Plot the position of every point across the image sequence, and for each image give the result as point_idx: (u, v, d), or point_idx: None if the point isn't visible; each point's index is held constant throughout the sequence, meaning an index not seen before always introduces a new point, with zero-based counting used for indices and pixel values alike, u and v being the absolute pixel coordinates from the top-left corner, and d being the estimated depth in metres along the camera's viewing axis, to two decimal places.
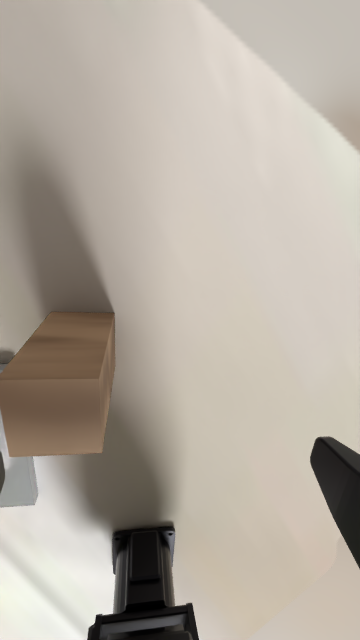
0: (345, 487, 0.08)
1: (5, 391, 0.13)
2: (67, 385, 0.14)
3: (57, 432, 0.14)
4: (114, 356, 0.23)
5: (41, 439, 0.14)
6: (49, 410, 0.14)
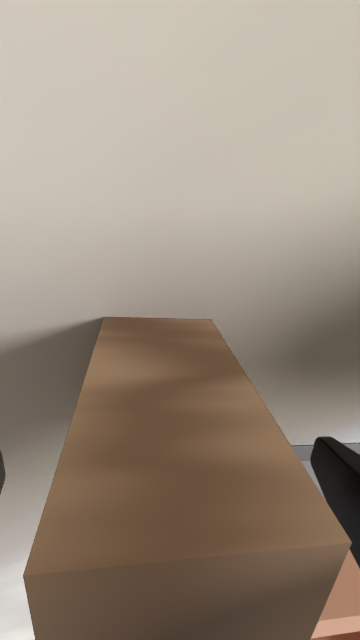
0: (345, 487, 0.08)
1: None
2: (58, 635, 0.04)
3: (236, 634, 0.05)
4: (187, 324, 0.12)
5: None
6: None
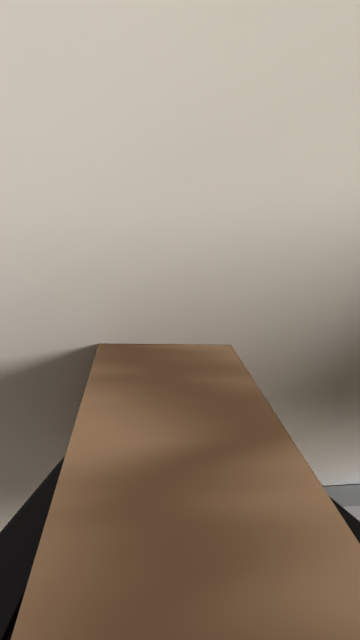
0: None
1: None
2: None
3: None
4: (202, 352, 0.10)
5: None
6: None
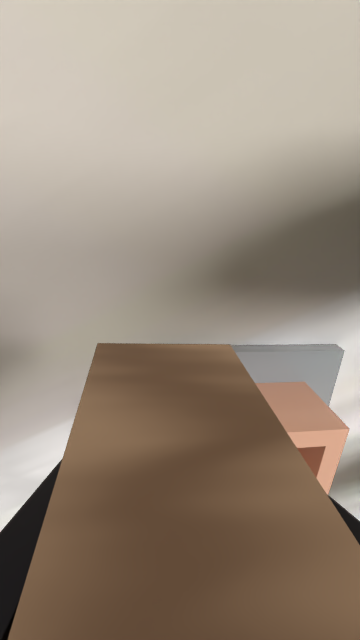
0: None
1: None
2: None
3: None
4: (201, 352, 0.10)
5: None
6: None
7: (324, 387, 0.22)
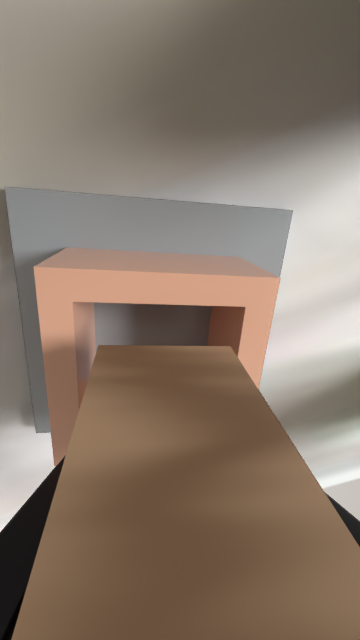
0: None
1: None
2: None
3: None
4: (202, 353, 0.10)
5: None
6: None
7: (267, 269, 0.16)
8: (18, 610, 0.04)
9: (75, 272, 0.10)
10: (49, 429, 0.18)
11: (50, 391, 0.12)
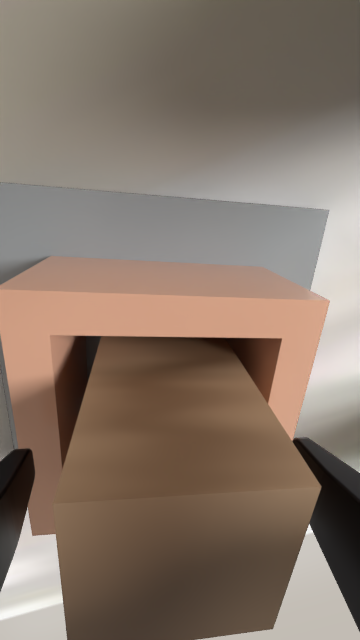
0: None
1: None
2: (79, 561, 0.05)
3: (226, 569, 0.06)
4: None
5: (239, 591, 0.06)
6: (157, 585, 0.06)
7: (296, 281, 0.13)
8: None
9: (52, 296, 0.07)
10: None
11: None
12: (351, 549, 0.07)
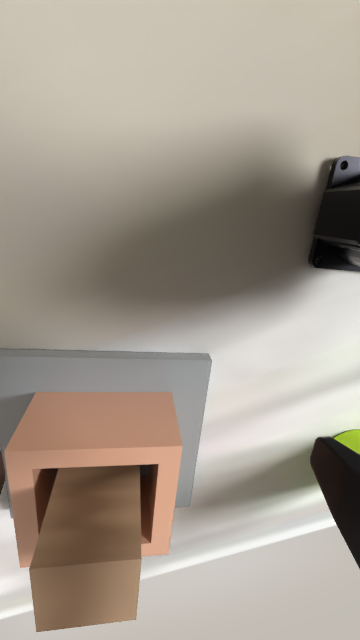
0: (345, 487, 0.08)
1: (50, 625, 0.13)
2: (40, 589, 0.12)
3: (106, 592, 0.13)
4: None
5: (114, 601, 0.13)
6: (75, 599, 0.13)
7: (195, 399, 0.21)
8: None
9: (33, 453, 0.15)
10: None
11: (16, 522, 0.16)
12: None
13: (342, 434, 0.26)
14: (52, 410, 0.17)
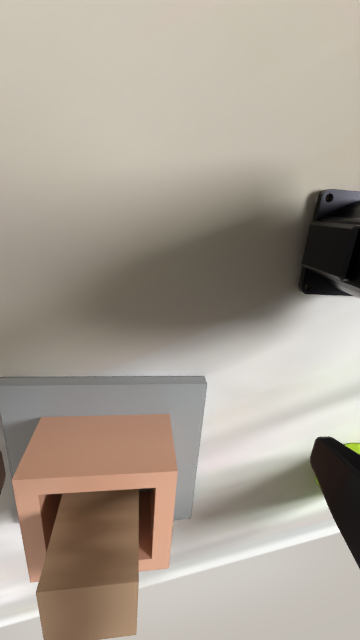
0: (345, 487, 0.08)
1: None
2: (46, 610, 0.14)
3: (107, 611, 0.14)
4: None
5: (115, 619, 0.14)
6: (78, 617, 0.14)
7: (192, 419, 0.22)
8: None
9: (38, 480, 0.16)
10: None
11: (25, 542, 0.17)
12: None
13: None
14: (56, 436, 0.19)
